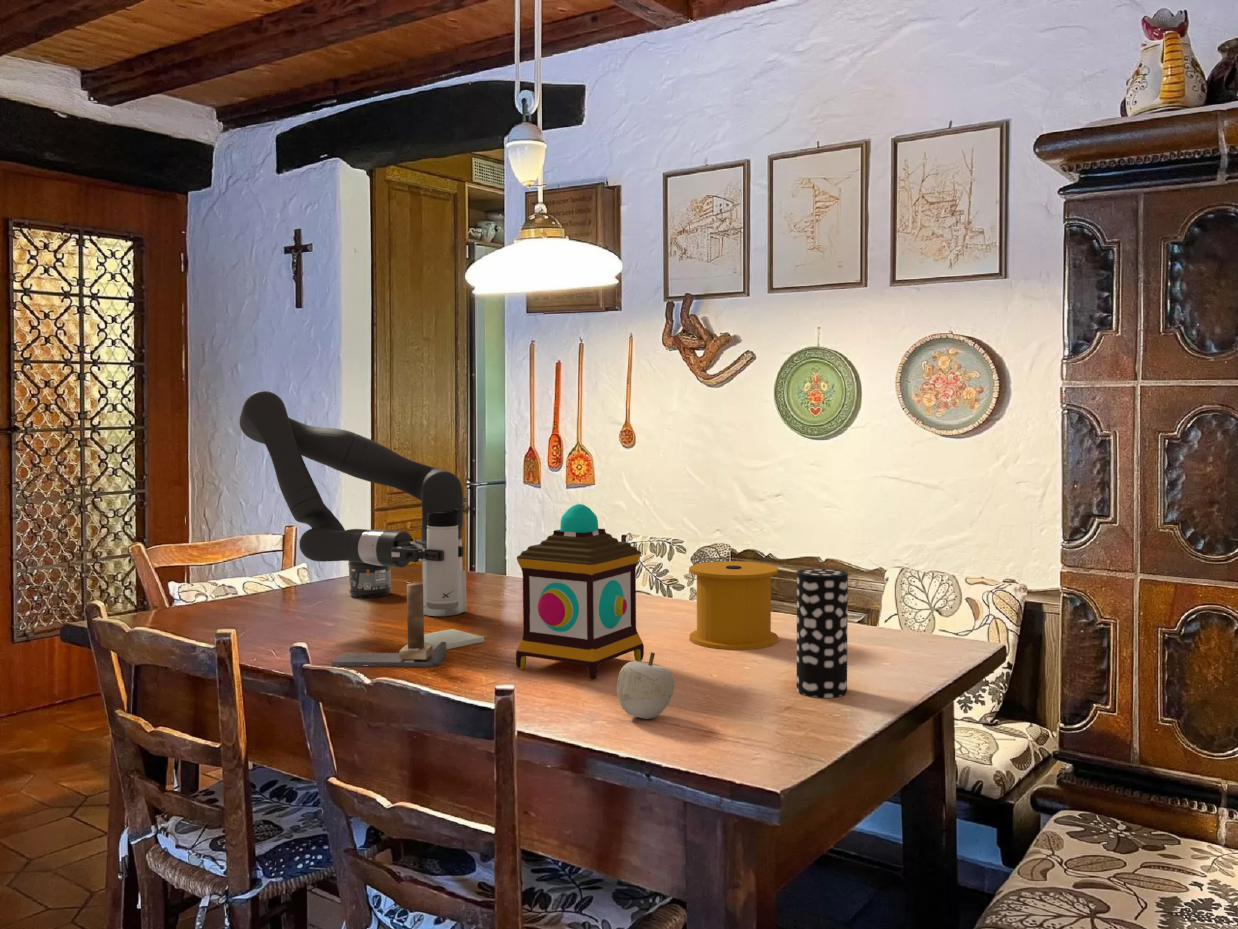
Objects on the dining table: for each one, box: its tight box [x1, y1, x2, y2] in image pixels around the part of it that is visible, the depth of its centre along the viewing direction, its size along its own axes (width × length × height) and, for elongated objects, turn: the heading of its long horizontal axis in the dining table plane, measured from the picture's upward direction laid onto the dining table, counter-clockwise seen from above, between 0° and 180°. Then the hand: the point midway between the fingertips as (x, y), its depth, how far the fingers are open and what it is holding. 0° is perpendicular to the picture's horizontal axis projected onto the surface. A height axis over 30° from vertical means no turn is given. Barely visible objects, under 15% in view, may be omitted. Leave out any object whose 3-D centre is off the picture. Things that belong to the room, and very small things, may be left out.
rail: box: [331, 642, 448, 668], centre depth 198 cm, size 20×7×3 cm, turn 87°
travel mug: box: [427, 509, 460, 610], centre depth 213 cm, size 6×7×20 cm
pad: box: [424, 628, 485, 650], centre depth 214 cm, size 11×11×1 cm
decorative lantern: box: [515, 503, 645, 682], centre depth 193 cm, size 20×20×30 cm
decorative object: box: [616, 651, 676, 720], centre depth 161 cm, size 9×9×10 cm
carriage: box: [398, 582, 433, 659], centre depth 197 cm, size 5×5×14 cm
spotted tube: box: [796, 567, 849, 699], centre depth 175 cm, size 8×8×20 cm
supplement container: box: [347, 561, 392, 599], centre depth 267 cm, size 10×10×12 cm
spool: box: [688, 560, 779, 650], centre depth 214 cm, size 18×18×15 cm
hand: (452, 553), depth 212 cm, fingers closed on travel mug, 6 cm apart
